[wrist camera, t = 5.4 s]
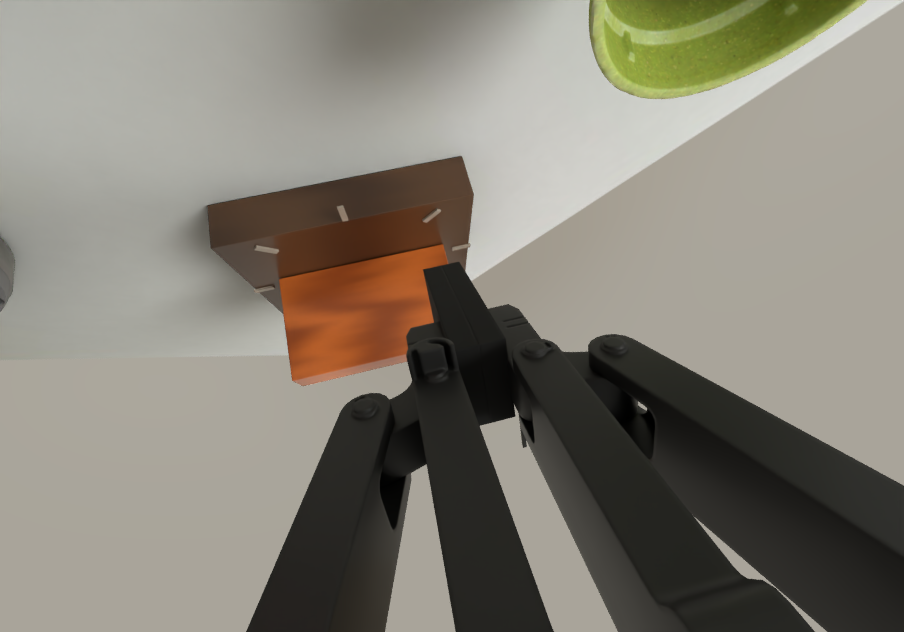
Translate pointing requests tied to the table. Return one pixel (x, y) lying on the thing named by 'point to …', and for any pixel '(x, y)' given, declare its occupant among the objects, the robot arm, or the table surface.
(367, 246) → the dial panel
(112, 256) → the table surface
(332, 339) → the pointer
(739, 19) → the plant pot
